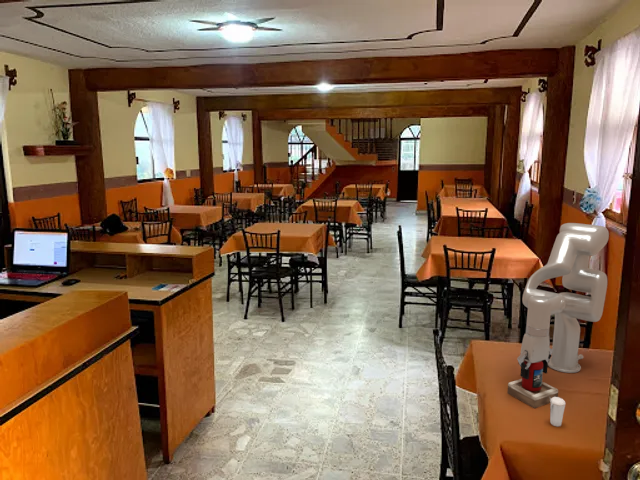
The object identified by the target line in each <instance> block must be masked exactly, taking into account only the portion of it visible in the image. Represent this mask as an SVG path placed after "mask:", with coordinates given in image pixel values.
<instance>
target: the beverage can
mask: <svg viewBox="0 0 640 480" xmlns="http://www.w3.org/2000/svg"><path fill="white" fill-rule="evenodd" d="M527 360H529V359H528V358H527ZM527 363H528V362H525V364H527ZM528 369H529V379H525V378H523V377H521V379H522V387H523V388H524V389H526V390H527V391H531V392H537V391H539V390H541V387H542V382H543V375H544V373H543V362H542V361H538V362H535V363H531V364H530V366H529V368H528Z"/></svg>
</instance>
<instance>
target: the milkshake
mask: <svg viewBox="0 0 640 480" xmlns="http://www.w3.org/2000/svg"><path fill="white" fill-rule="evenodd" d="M549 398H550V397H549ZM549 408H550V409H549V410H550V413H549V414H550V417H549V419H550V421H549V422H550V424H551V425H552V426H554V427H561V426H562V423H563V417H564V412H565V408H566V401H565V400H564V399H563V398H562V397H560V396H558V397H553V398H551V399H550V403H549Z"/></svg>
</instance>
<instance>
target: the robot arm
mask: <svg viewBox="0 0 640 480" xmlns="http://www.w3.org/2000/svg"><path fill="white" fill-rule="evenodd" d="M609 232H610V231H609V230H608V228H607V227H606V226H604V225H598V224H597V225H595V224H588V223H587V224H585V223H578V222H577V223H576V222H567V223H563V224H561V225H560V227H559V233H558V234H557V235H556V238H555V241H554V243H553V247H552V248H551V251H550V254H549V255H550V256H549V258H548V261H547V263H546V264H545V265H544V266H542V267H540V268H539V269H537V270H536V271H534V273H533V274H532V275H530V277H529V278H528V280H527V282H526V285H525V288H524V290H523V294H522V304H523V305H524V307H526V308H527V316H526V327H525V333H524V335H523V337H522V342H521V347H520V355H518V357H517V358H516V360H517V362H518V365H519V367H520V375H519V376H520V377H521V378H522V377H523V378H525V379H529V369H528V368H529V366H530V364H531V363H535V362H538V361H542V362H543V374H548V371H549V370H548V369H549V368H551V369H552V370H554V371H557V372H560V373H561V372H562V373H568V374H569V373H570V374H573V373H578V372H580V371H581V369H582V366H581V365H580V364H579V360H583V359H584V355H583V354H582V353H581V354H579V345H580V337H581V326H580V323H579V321H578V320H582V321H587V322H592V323H593V322H594V323H596V322H599V321H600V320H601V318H602V316H603V312H604V308H605V307H604V306H605V302H606V295H607V289H608V276H607V274H606V273H605V272H604V271H602V270H599V269H593V268H589V263H590V257H593V256H595V255H597V254H598V253H599V252H600V251H601V250H602V249H603V248H604V247H605V246H606V245H607V243H608V241H609V238H610V236H609V235H610V233H609ZM559 277H562V280H561V282H562V283H561V284H562V286H563V288H566V289H568V290H572V291H575V292H581V293H586V294H590V296H588V295H582V294H578V293H573V292H568V291H566V292H559V293H556V292H553V291H547V290H543V289H537V288H538V286H540V284H542V283H543V282H544V281H546V280H547V281H548V280H550V279H554V278H559ZM553 315H554V326H553V337H552V338H553V339H552V347H550V345H551V343H550V323H551V316H553ZM527 358H528V359H529V360H527ZM525 362H528V363H527V364H525Z"/></svg>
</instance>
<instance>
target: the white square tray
mask: <svg viewBox="0 0 640 480" xmlns="http://www.w3.org/2000/svg"><path fill="white" fill-rule="evenodd" d="M507 394H508V395H510V396H511V397H513V398H515V399H516V400H518V401H519V402H522V403H524V404H526V405H527V406H529V407H530V408H532V409H538V408H540V407H542V406H545V405H548V404H550V399H551V398H553V397H559V389H558V388H556V387H554V386H552V385H551V384H548V383H546V382H543V381H542V387H541V390H539V391H537V392H531V391H527V390H526V389H524V388H523V387H522V378H519V379H516V380H514V381H510V382H508V384H507ZM549 397H550V398H549Z"/></svg>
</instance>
